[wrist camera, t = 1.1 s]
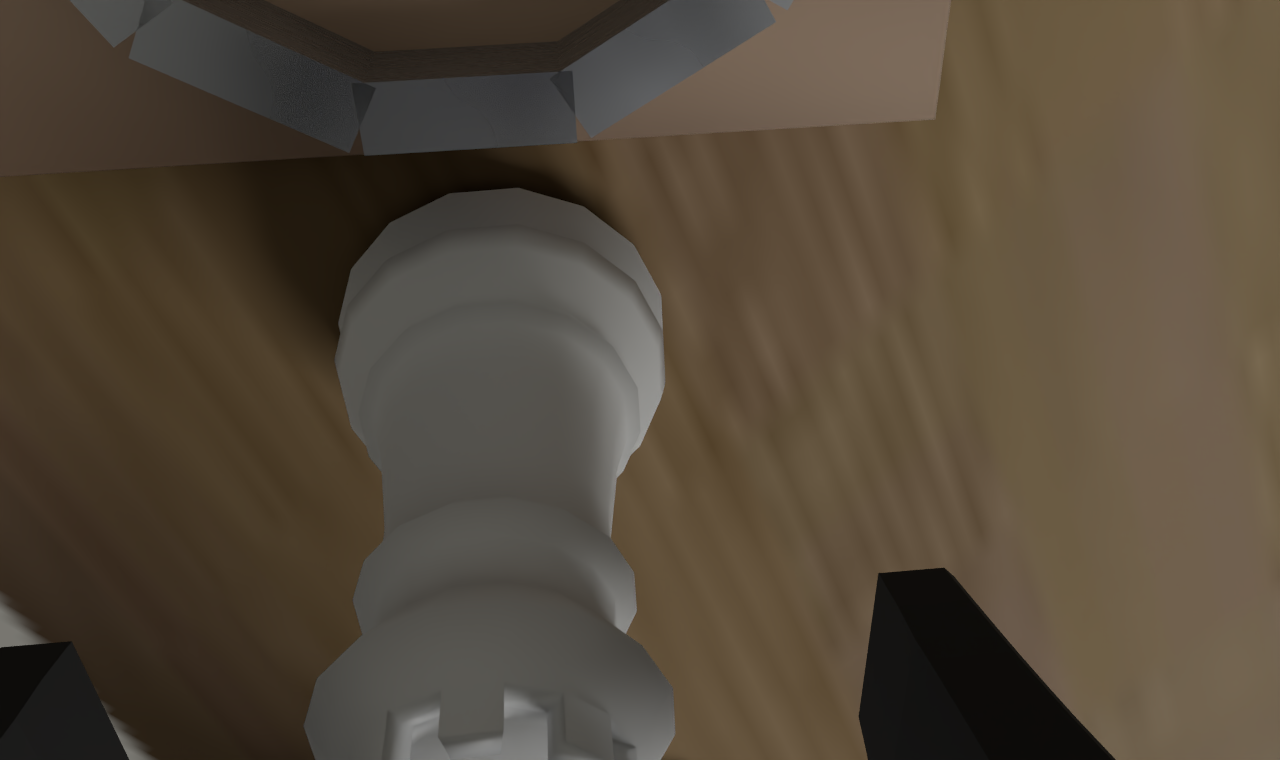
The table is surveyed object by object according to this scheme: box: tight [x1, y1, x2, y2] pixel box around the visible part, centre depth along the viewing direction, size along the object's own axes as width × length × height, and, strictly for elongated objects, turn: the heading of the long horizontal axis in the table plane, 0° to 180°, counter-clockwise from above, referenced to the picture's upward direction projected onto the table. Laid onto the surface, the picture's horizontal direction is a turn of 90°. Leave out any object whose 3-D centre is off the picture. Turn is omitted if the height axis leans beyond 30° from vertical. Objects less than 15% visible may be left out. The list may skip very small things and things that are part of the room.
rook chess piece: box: [304, 188, 675, 760], centre depth 12 cm, size 4×4×8 cm
